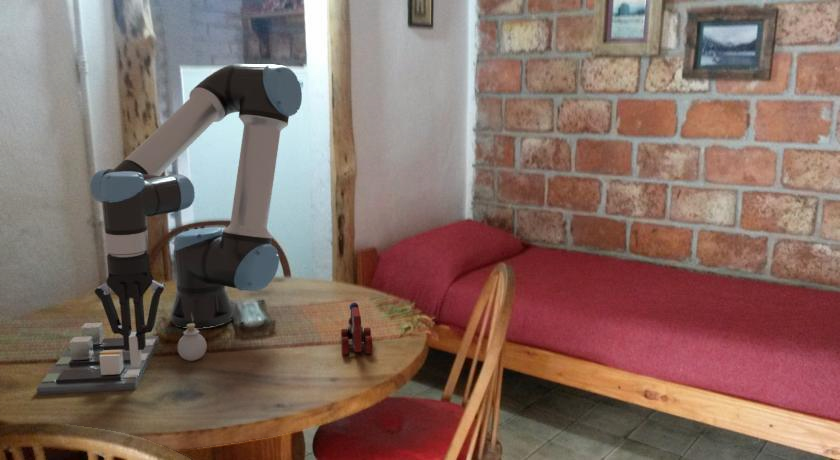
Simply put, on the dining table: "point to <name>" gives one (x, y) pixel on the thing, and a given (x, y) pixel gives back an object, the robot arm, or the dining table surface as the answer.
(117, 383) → the panel
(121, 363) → the knob
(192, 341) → the ornament
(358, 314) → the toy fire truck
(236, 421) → the dining table surface
